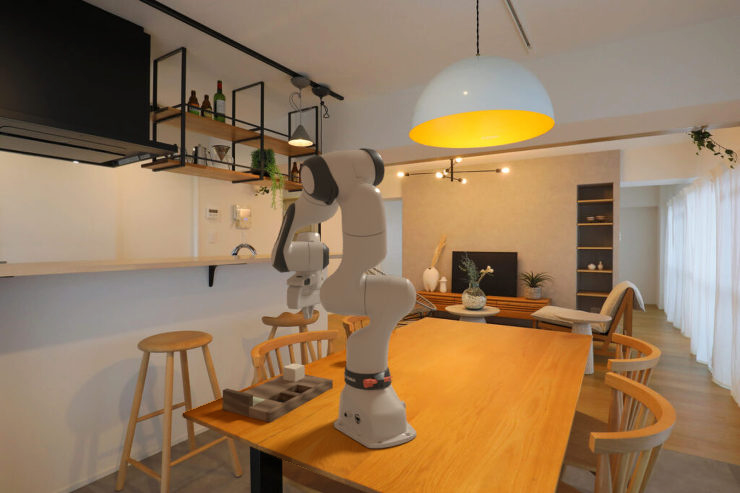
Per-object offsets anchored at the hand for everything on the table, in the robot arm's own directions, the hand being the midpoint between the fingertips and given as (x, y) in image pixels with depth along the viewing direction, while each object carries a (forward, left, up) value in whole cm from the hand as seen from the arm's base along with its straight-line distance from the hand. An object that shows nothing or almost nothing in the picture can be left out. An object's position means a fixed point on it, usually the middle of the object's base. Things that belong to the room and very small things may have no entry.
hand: (308, 318), depth 142 cm
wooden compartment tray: (-12, +13, -21) cm, 28 cm away
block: (-4, +6, -19) cm, 20 cm away
